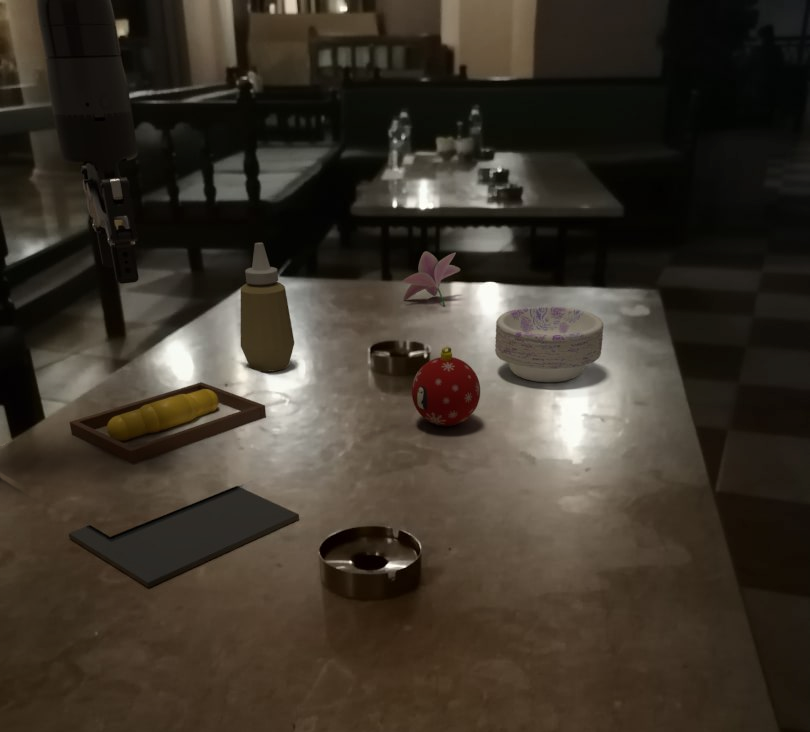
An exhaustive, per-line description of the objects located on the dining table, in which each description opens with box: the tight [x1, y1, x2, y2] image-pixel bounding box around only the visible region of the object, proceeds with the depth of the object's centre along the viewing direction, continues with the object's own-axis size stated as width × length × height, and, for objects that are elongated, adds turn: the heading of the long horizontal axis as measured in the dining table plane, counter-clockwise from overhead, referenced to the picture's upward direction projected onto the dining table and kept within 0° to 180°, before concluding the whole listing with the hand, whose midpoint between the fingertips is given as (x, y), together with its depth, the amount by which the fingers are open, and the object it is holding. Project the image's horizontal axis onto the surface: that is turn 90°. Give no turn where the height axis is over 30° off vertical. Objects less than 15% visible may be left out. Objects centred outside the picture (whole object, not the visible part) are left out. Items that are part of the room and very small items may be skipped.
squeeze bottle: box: [240, 242, 295, 372], centre depth 132 cm, size 8×8×18 cm
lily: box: [402, 250, 461, 307], centre depth 167 cm, size 12×12×10 cm
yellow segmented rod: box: [106, 389, 219, 442], centre depth 113 cm, size 16×4×4 cm, turn 137°
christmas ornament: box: [411, 346, 481, 427], centre depth 113 cm, size 9×9×10 cm
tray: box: [69, 381, 267, 465], centre depth 113 cm, size 20×14×2 cm
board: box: [68, 485, 300, 589], centre depth 91 cm, size 18×14×1 cm
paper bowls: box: [494, 306, 604, 383], centre depth 131 cm, size 15×15×8 cm
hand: (120, 274), depth 98 cm, fingers open, 8 cm apart
